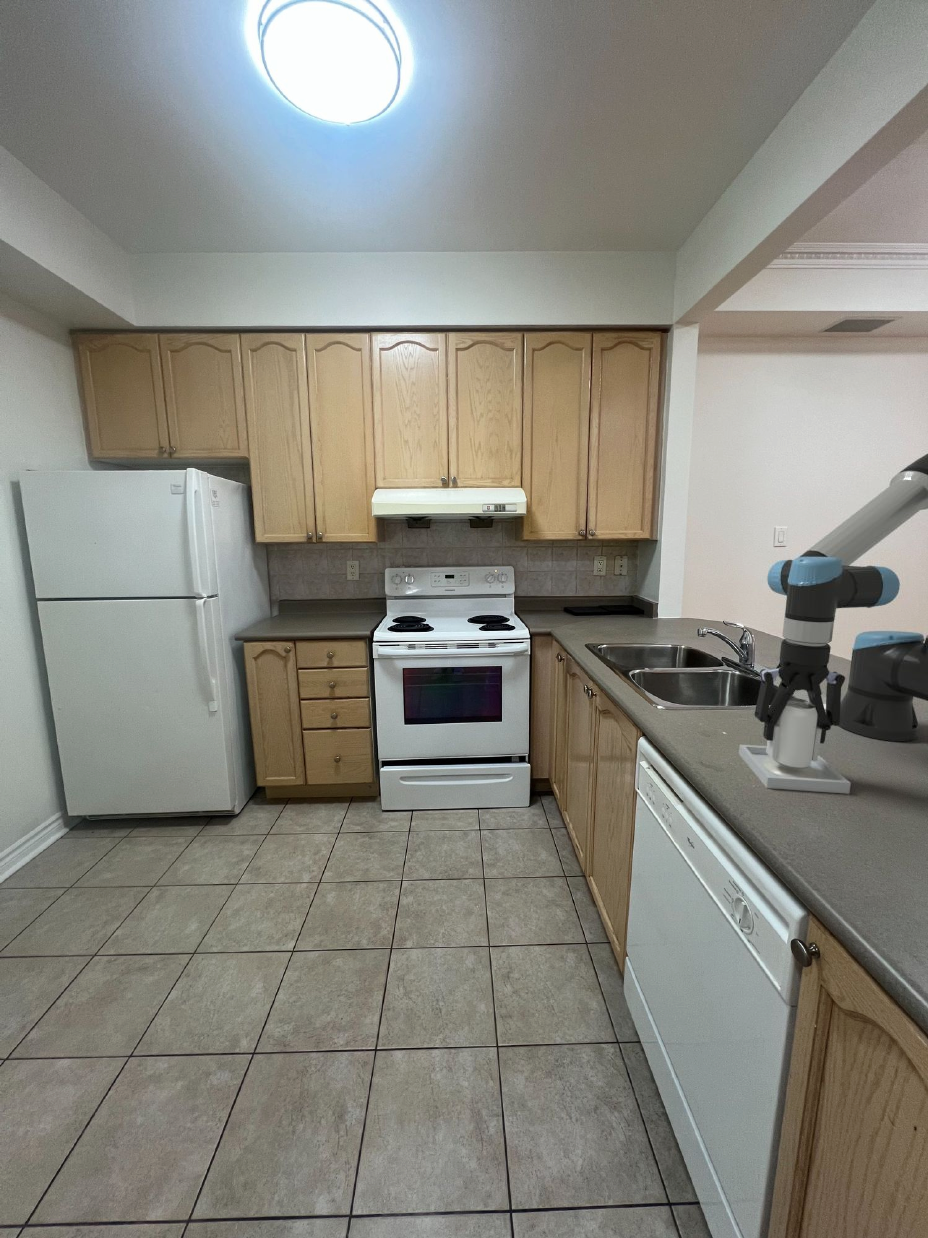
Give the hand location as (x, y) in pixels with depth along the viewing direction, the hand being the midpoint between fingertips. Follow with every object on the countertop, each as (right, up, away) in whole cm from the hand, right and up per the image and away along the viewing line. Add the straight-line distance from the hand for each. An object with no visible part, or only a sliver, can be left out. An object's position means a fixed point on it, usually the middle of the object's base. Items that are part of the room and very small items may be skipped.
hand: (791, 756), depth 94 cm
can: (0, -1, 0) cm, 1 cm away
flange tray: (0, -3, +1) cm, 3 cm away
